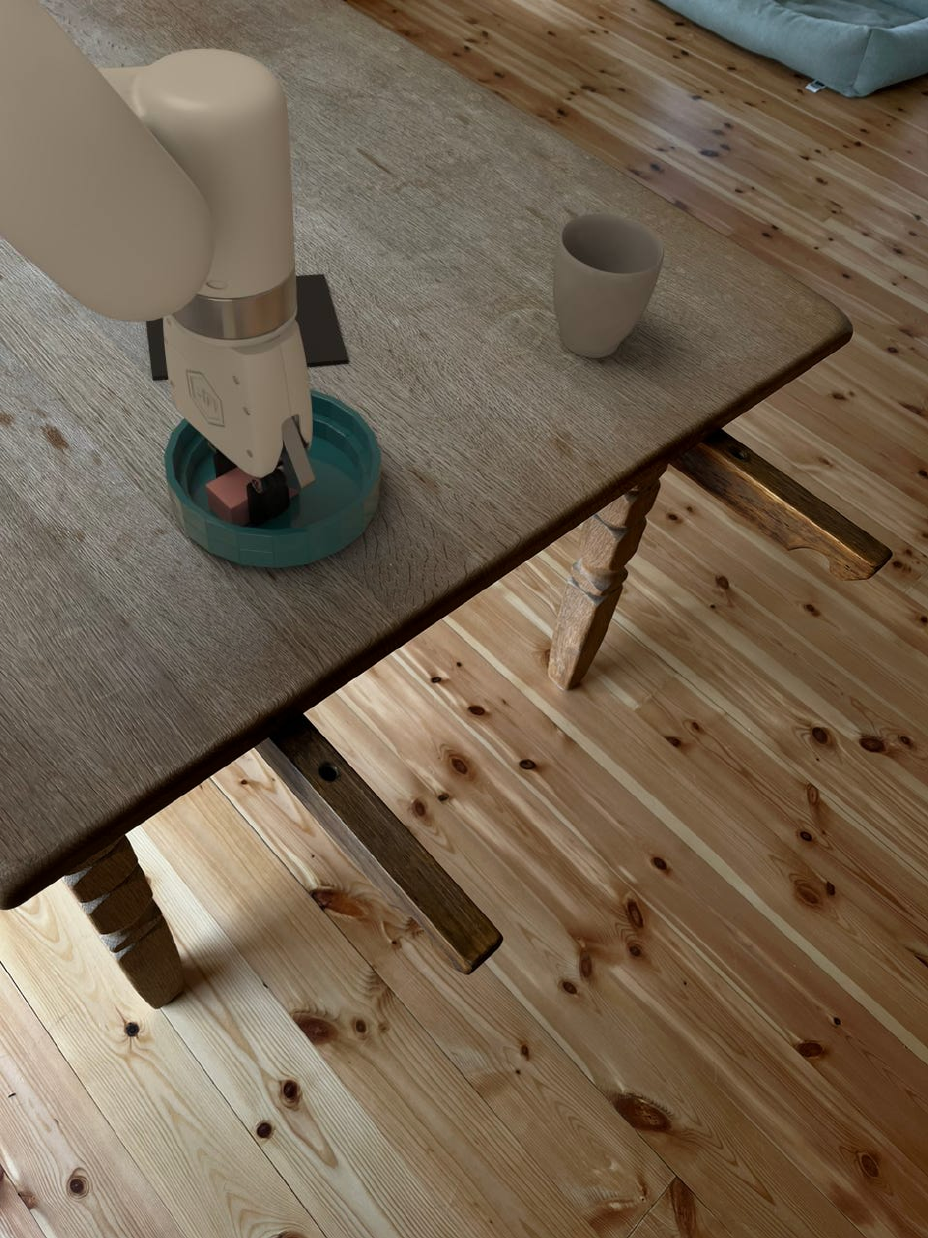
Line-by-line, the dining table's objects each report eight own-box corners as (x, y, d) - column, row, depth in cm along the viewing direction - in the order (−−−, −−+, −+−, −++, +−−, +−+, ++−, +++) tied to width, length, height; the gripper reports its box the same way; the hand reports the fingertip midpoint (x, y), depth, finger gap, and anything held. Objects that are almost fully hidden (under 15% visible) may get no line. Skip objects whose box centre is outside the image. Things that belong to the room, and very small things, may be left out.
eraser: (233, 532, 72) (230, 508, 70) (208, 508, 73) (204, 484, 71) (299, 493, 75) (298, 469, 73) (274, 470, 76) (272, 446, 74)
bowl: (182, 586, 69) (174, 548, 66) (164, 434, 78) (156, 394, 75) (397, 557, 73) (400, 520, 70) (357, 414, 81) (358, 376, 78)
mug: (649, 369, 88) (679, 273, 81) (553, 373, 87) (573, 276, 79) (614, 285, 95) (637, 190, 88) (523, 288, 94) (540, 191, 86)
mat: (152, 380, 81) (151, 376, 81) (142, 289, 88) (141, 285, 88) (348, 363, 85) (348, 359, 85) (324, 277, 92) (324, 273, 91)
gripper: (97, 242, 60) (145, 462, 75) (267, 386, 54) (283, 594, 69) (201, 201, 64) (228, 418, 79) (371, 332, 58) (366, 541, 73)
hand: (254, 499), depth 74 cm, fingers closed on eraser, 3 cm apart
